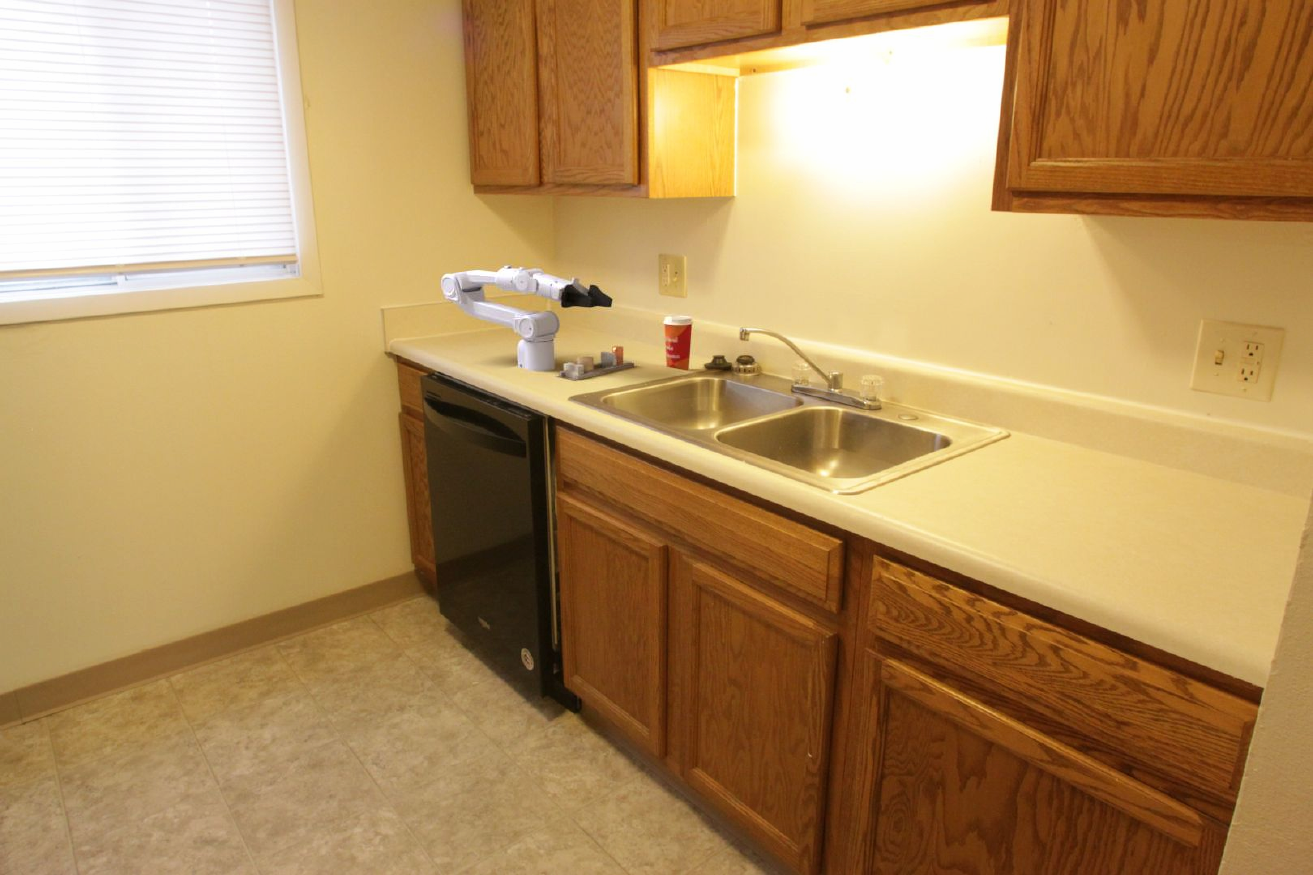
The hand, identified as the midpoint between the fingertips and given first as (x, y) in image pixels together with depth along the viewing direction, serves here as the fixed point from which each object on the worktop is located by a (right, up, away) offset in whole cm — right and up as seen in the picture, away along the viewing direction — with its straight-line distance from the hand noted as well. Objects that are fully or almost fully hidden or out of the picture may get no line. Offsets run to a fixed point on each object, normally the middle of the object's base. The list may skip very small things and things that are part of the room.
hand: (601, 303), depth 208 cm
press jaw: (+3, -14, +18) cm, 23 cm away
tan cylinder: (-4, -16, +10) cm, 19 cm away
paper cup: (+19, -15, +20) cm, 31 cm away
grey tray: (-2, -17, +13) cm, 21 cm away
